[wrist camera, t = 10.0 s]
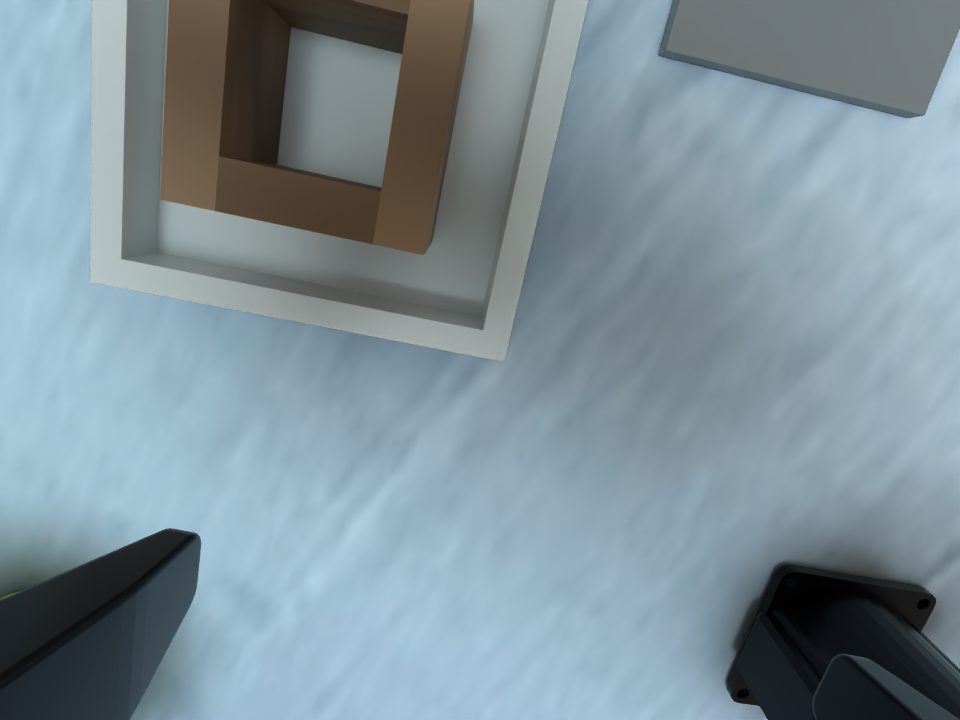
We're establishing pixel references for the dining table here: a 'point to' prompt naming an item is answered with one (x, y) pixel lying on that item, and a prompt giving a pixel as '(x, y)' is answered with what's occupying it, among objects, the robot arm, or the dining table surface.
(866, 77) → the post base
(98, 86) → the tray
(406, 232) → the open wooden frame
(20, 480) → the dining table surface
